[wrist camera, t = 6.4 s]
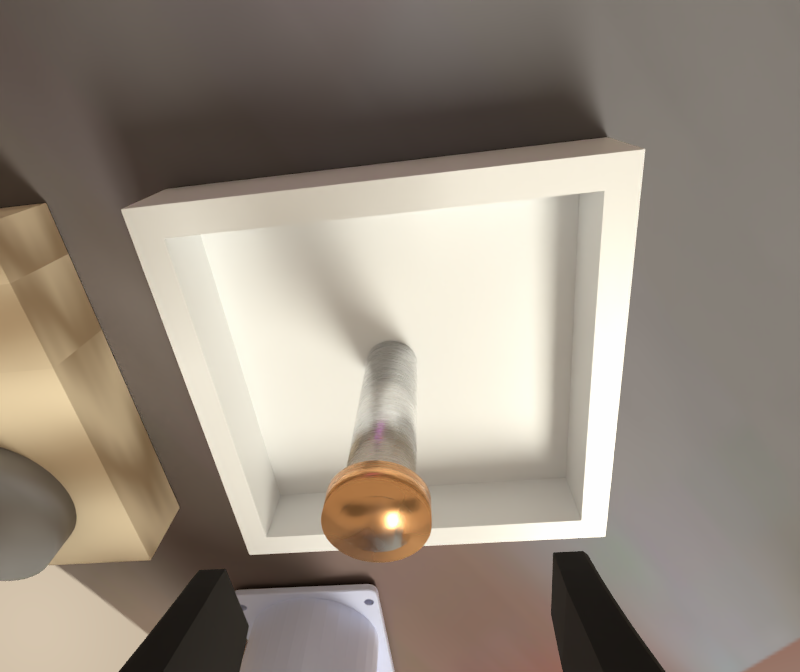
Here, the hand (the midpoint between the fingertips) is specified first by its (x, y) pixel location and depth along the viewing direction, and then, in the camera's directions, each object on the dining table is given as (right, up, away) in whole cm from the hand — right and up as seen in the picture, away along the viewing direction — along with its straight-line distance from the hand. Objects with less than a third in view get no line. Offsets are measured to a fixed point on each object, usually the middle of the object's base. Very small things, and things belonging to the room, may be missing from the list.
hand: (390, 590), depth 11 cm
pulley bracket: (-17, +3, +11) cm, 20 cm away
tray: (0, +5, +9) cm, 10 cm away
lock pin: (0, +5, +9) cm, 10 cm away
